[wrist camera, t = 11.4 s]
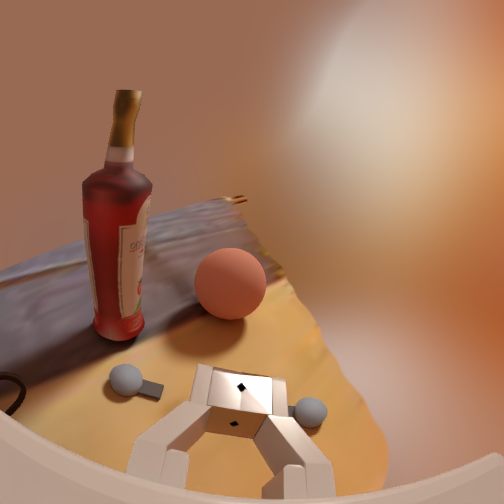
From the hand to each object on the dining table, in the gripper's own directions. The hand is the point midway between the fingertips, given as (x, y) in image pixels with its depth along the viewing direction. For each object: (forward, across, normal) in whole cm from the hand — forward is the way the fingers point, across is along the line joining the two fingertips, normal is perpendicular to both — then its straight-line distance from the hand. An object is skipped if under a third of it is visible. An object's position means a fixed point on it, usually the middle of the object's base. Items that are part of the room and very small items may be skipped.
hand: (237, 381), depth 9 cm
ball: (+28, 0, +13) cm, 31 cm away
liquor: (+19, +13, +19) cm, 30 cm away
